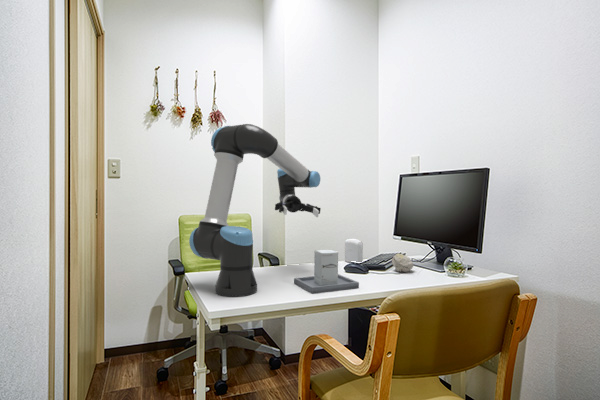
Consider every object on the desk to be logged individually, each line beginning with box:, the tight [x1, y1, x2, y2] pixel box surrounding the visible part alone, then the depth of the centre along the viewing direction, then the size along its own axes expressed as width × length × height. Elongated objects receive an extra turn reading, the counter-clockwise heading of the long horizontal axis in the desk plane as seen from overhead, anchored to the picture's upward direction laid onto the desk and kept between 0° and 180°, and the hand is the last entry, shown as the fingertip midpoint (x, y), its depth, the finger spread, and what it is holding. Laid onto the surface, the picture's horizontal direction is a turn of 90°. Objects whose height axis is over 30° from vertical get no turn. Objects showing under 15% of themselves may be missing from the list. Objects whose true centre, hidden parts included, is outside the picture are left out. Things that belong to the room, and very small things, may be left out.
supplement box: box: [313, 249, 339, 286], centre depth 147 cm, size 7×7×13 cm
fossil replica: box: [391, 253, 415, 273], centre depth 176 cm, size 12×8×10 cm
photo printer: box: [344, 238, 364, 263], centre depth 195 cm, size 10×4×12 cm, turn 39°
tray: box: [293, 273, 360, 295], centre depth 147 cm, size 20×16×2 cm
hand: (301, 212), depth 157 cm, fingers open, 13 cm apart
